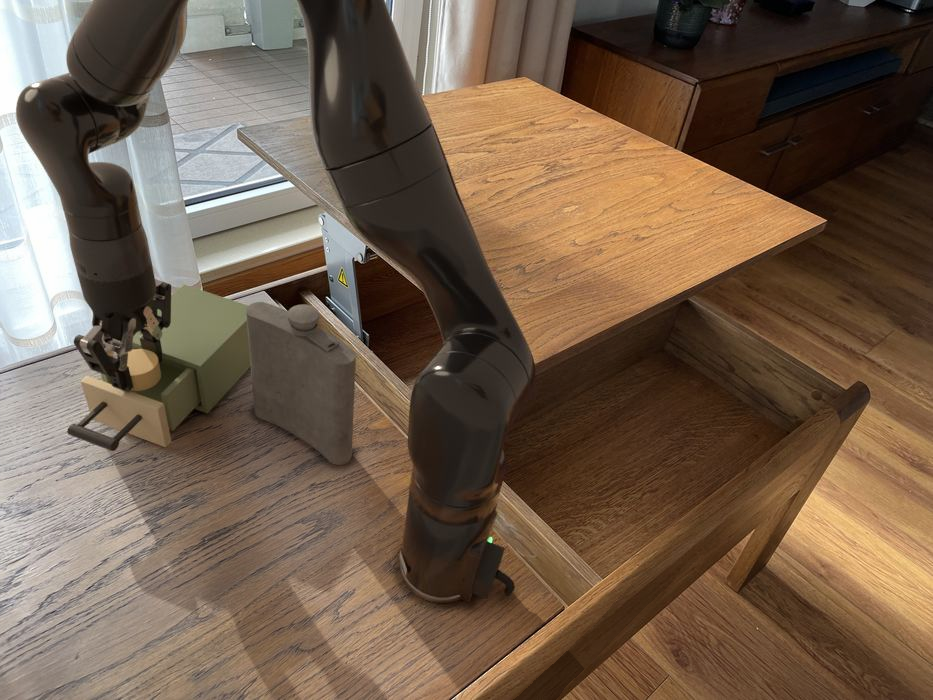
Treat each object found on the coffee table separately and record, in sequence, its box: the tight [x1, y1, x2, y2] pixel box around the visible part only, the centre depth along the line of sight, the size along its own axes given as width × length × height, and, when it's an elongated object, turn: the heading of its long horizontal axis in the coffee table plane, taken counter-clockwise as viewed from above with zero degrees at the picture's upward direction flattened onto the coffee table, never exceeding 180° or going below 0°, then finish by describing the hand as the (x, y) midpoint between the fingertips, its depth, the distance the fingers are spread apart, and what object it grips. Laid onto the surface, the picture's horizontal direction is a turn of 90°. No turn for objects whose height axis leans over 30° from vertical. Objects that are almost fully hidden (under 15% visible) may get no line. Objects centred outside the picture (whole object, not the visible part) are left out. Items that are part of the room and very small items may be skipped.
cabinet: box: [119, 284, 251, 414], centre depth 99 cm, size 14×12×9 cm
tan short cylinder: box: [127, 349, 161, 391], centre depth 88 cm, size 5×5×3 cm
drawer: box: [66, 347, 201, 452], centre depth 91 cm, size 18×11×7 cm, turn 161°
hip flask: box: [246, 301, 357, 466], centre depth 89 cm, size 16×4×20 cm, turn 58°
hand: (139, 373), depth 89 cm, fingers closed on tan short cylinder, 5 cm apart
